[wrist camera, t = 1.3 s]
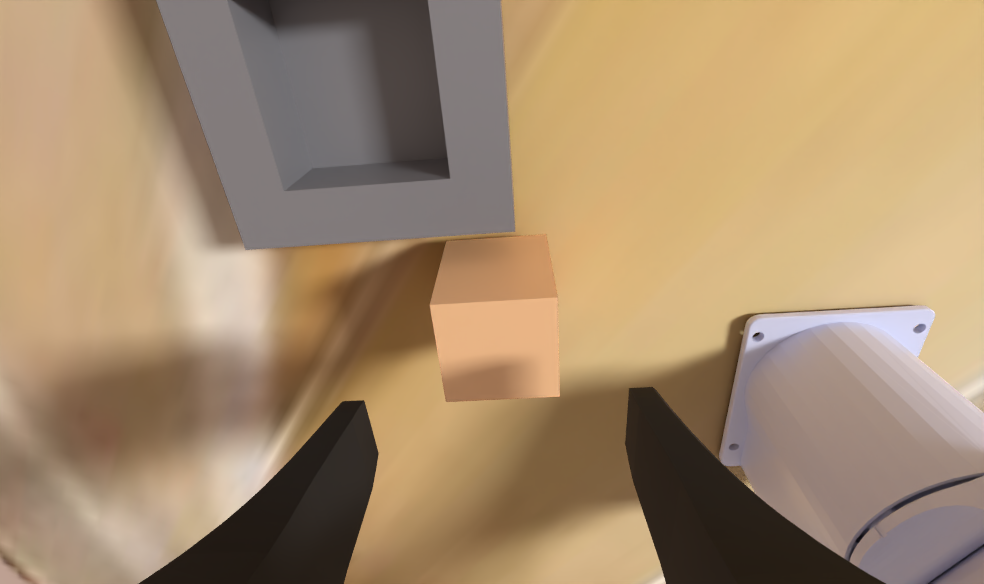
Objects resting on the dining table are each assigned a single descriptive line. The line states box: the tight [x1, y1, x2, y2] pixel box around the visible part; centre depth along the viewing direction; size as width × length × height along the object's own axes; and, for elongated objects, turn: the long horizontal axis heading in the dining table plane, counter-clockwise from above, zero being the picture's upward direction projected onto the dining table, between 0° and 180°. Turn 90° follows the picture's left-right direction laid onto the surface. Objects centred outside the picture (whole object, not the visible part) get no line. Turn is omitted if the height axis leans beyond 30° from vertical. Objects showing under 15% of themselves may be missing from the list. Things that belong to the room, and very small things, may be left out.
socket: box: [156, 0, 515, 250], centre depth 16 cm, size 10×10×4 cm
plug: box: [430, 234, 560, 402], centre depth 19 cm, size 4×4×6 cm
